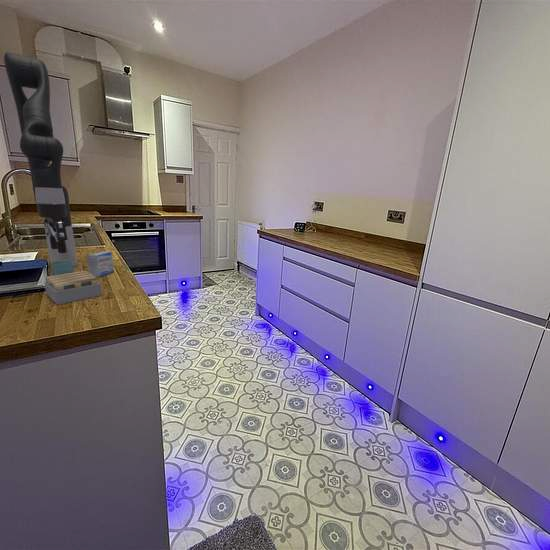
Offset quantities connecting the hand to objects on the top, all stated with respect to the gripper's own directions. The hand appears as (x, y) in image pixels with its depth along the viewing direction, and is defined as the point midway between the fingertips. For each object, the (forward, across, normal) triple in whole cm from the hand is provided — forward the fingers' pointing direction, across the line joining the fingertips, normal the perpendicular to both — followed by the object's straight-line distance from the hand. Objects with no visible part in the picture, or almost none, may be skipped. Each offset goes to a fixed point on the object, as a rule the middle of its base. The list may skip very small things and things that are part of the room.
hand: (58, 250), depth 98 cm
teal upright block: (+12, 0, 0) cm, 12 cm away
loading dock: (+12, +14, -1) cm, 18 cm away
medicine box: (+12, -5, +14) cm, 19 cm away
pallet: (+8, +14, -1) cm, 16 cm away
